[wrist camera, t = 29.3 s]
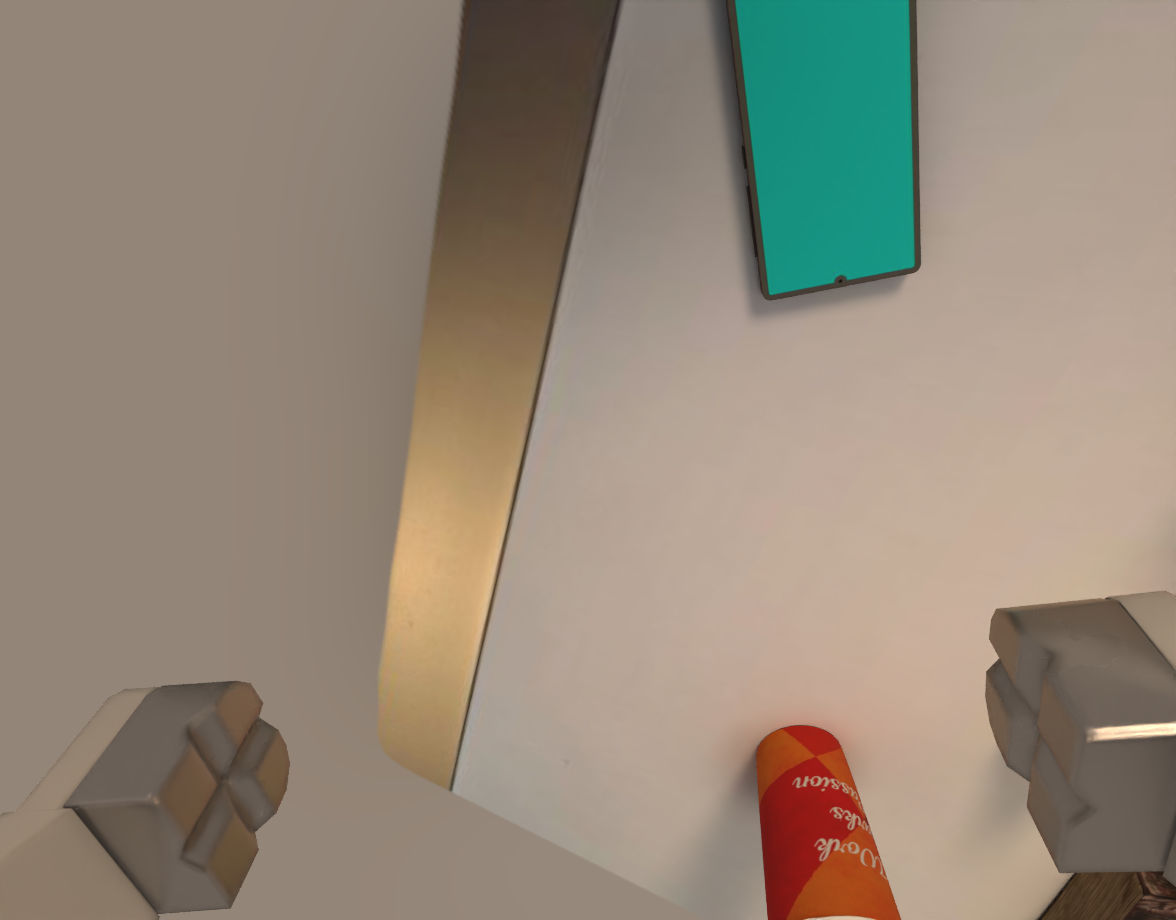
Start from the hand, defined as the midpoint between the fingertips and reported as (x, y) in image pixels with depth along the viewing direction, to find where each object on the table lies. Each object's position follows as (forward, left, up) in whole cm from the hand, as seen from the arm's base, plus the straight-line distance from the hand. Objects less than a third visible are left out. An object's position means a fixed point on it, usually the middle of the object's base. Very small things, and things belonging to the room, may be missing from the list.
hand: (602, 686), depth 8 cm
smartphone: (-1, +8, -31) cm, 32 cm away
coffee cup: (+40, +5, -31) cm, 51 cm away
